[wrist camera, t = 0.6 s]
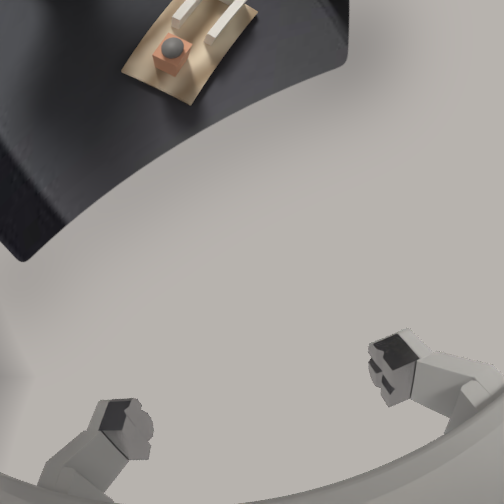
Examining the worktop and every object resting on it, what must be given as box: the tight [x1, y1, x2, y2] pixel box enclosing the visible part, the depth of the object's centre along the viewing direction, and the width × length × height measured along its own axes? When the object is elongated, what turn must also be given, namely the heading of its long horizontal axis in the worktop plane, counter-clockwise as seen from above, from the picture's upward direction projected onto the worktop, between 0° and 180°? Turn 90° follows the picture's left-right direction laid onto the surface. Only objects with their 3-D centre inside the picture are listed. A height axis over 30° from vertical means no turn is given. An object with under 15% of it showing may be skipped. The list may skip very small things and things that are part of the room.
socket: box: [171, 0, 247, 46], centre depth 34 cm, size 8×11×5 cm
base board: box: [121, 0, 258, 106], centre depth 38 cm, size 14×22×2 cm, turn 148°
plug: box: [152, 33, 192, 77], centre depth 34 cm, size 4×4×10 cm
